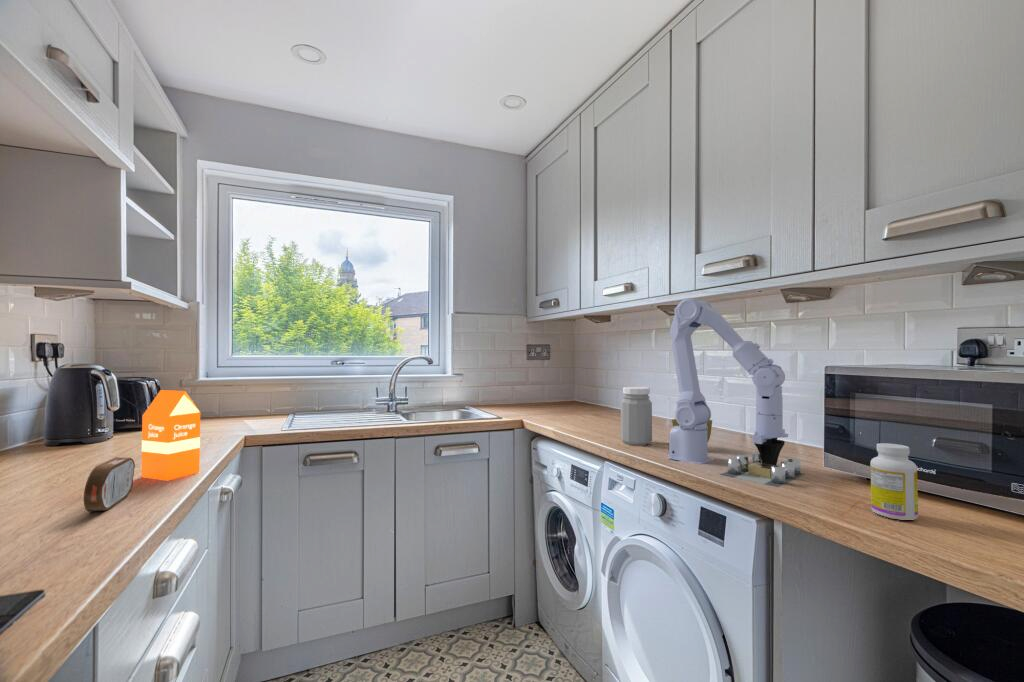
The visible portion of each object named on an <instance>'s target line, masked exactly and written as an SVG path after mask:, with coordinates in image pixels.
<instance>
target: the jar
mask: <svg viewBox="0 0 1024 682" xmlns="http://www.w3.org/2000/svg"><path fill="white" fill-rule="evenodd" d="M622 393H623V394H624V395H622V400H621V401H620V440H621V441H622V443H624V444H625V445H628V444H630V445H629V446H636V445H644V446H648V445H649V444H651V442H652V441H653V406H652V405H653V402H652V401H651V399H650V397H651V396H650V394H651V393H650V387H647V386H624V387H622ZM647 444H648V445H647Z"/></svg>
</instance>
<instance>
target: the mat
mask: <svg viewBox="0 0 1024 682" xmlns="http://www.w3.org/2000/svg"><path fill="white" fill-rule="evenodd" d="M805 475H806V473H803V472H801V474H800V475H795V479H785V484H787V483H790V482H792V481H794V480H796V479H798V478H800V477H802V476H805ZM719 476H723V477H729V478H733V479H738V480H741V481H742V480H743V481H747V482H751V483H757V484H761V485H764V486H771V487H775V488H780V487H781V486H784V485H785V484H776V483H772V482H771V479H769V478H764V477H760V476H755V475H750V474H748V471H747V472H742V471H741V474H740V475H733V474H729V473H728V471H726V472H721V473H719Z"/></svg>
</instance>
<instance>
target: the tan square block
mask: <svg viewBox="0 0 1024 682" xmlns="http://www.w3.org/2000/svg"><path fill="white" fill-rule="evenodd" d="M748 464H749V465H748V474H750V475H755V476H760V477H764V478H769V479H771V466H772V465H771V464H766V463H760V462H755V463H753V462H752V463H748Z"/></svg>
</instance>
